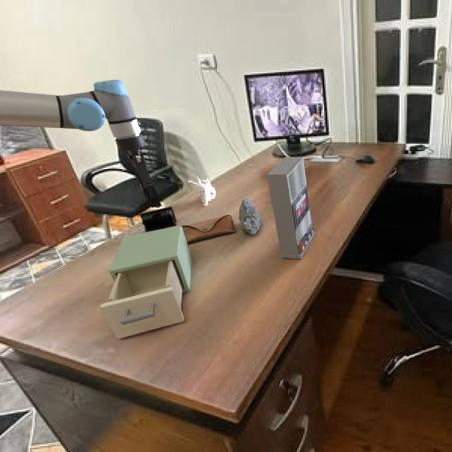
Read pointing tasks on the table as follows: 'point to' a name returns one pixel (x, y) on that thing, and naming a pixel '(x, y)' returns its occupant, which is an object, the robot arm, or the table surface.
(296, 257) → the cassette tape recorder
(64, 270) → the table surface
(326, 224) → the table surface
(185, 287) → the cabinet
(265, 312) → the table surface
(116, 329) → the drawer
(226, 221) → the sunglasses case
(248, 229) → the mineral rock
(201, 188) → the white figurine
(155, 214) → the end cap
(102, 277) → the table surface
